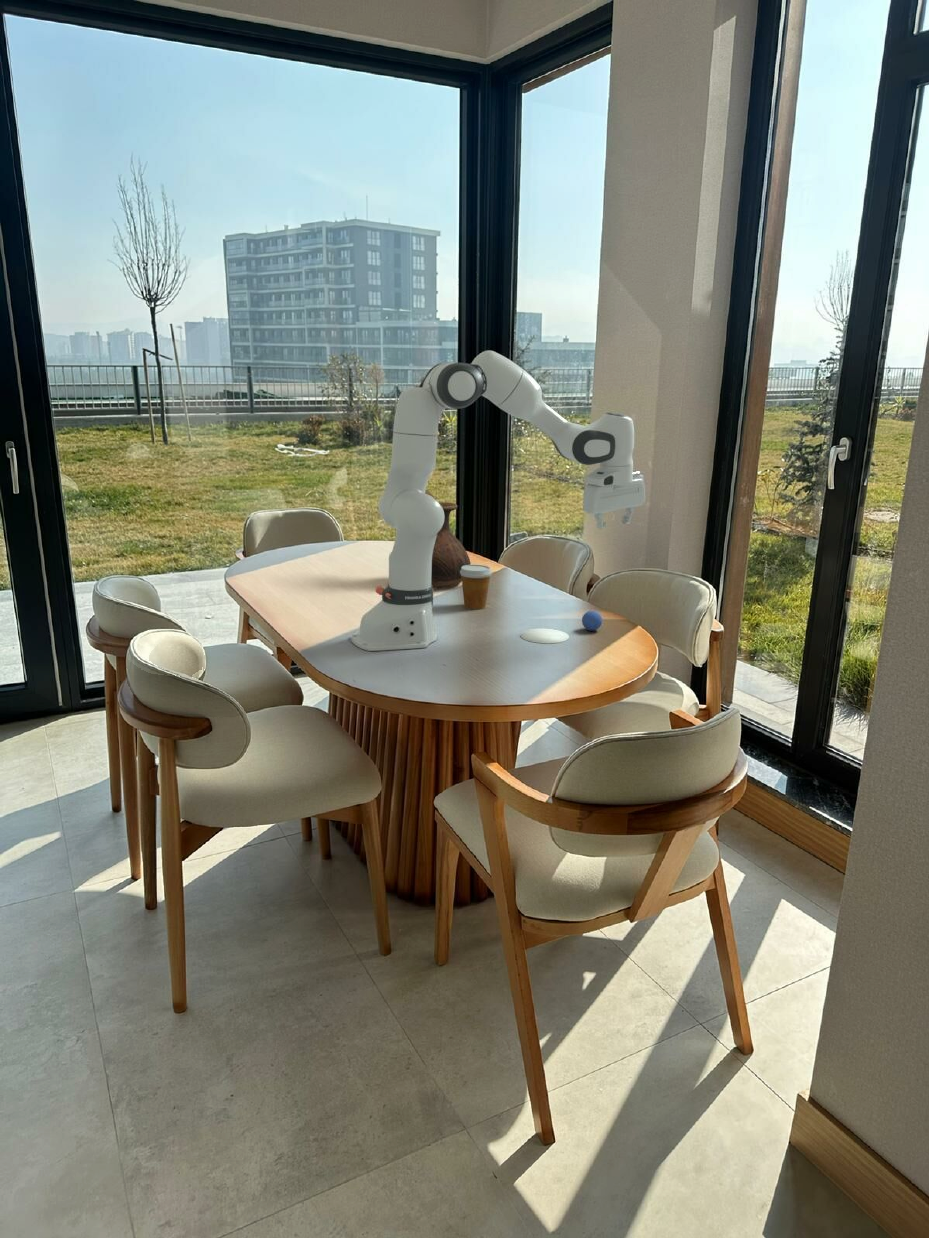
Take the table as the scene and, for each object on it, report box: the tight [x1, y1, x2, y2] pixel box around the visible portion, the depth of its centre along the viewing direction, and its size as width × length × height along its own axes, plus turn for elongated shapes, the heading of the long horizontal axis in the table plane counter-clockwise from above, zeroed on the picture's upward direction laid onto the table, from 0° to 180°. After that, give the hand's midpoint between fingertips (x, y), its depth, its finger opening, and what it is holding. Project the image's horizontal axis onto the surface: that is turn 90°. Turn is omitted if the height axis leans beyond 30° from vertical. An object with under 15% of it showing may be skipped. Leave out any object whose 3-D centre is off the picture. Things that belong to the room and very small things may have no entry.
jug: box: [425, 489, 472, 590], centre depth 283 cm, size 22×22×30 cm
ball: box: [581, 610, 603, 632], centre depth 238 cm, size 6×6×6 cm
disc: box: [520, 628, 570, 645], centre depth 233 cm, size 13×13×1 cm
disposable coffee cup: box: [460, 564, 493, 610], centre depth 259 cm, size 10×10×12 cm
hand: (613, 525), depth 236 cm, fingers open, 8 cm apart
